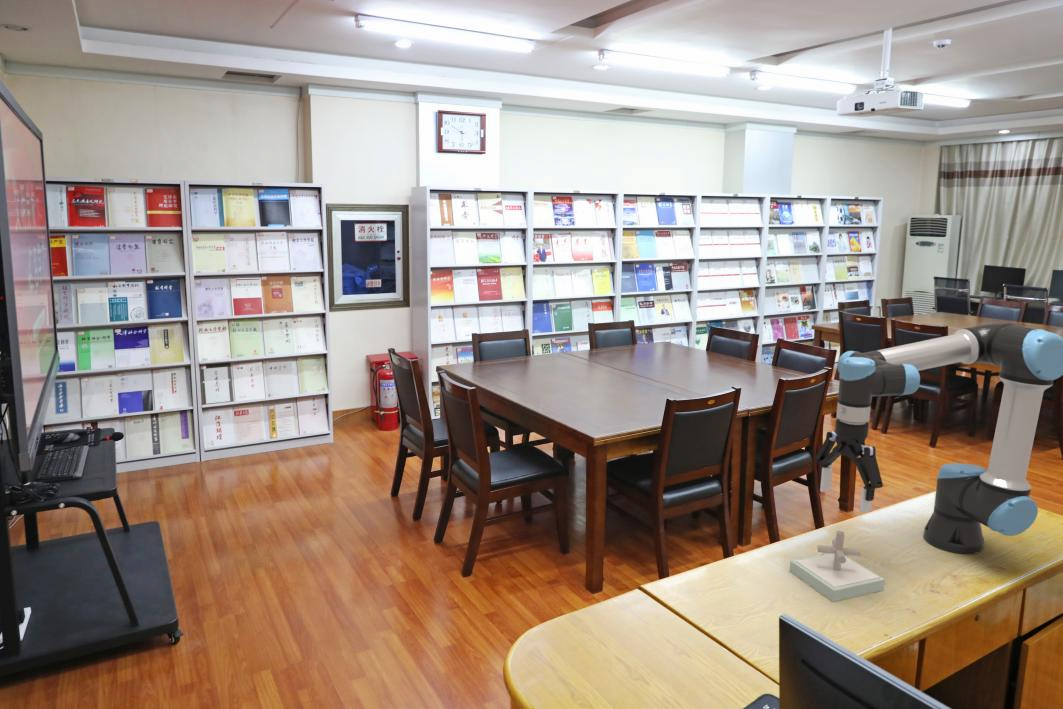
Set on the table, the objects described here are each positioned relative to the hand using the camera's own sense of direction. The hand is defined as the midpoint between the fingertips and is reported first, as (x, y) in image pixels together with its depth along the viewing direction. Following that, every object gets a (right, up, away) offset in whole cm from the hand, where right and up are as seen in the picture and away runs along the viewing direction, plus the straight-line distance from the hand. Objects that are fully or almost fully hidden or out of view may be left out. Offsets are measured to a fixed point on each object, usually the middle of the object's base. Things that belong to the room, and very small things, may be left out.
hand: (844, 501), depth 187 cm
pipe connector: (0, -18, +4) cm, 19 cm away
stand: (0, -21, +5) cm, 22 cm away
